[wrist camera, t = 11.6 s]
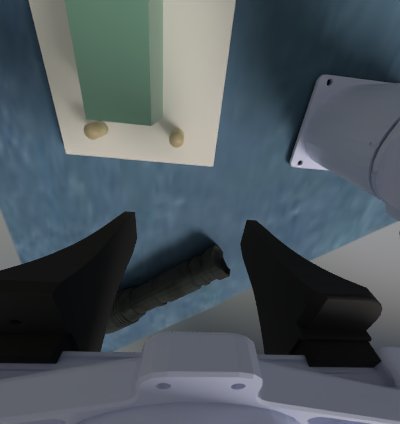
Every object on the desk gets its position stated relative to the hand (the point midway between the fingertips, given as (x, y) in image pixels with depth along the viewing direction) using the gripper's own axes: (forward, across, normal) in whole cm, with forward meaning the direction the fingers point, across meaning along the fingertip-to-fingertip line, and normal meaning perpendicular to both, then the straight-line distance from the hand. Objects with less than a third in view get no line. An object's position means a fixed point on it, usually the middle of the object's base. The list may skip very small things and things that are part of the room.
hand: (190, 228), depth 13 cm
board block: (+9, +5, -10) cm, 14 cm away
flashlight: (+10, +3, +17) cm, 20 cm away
